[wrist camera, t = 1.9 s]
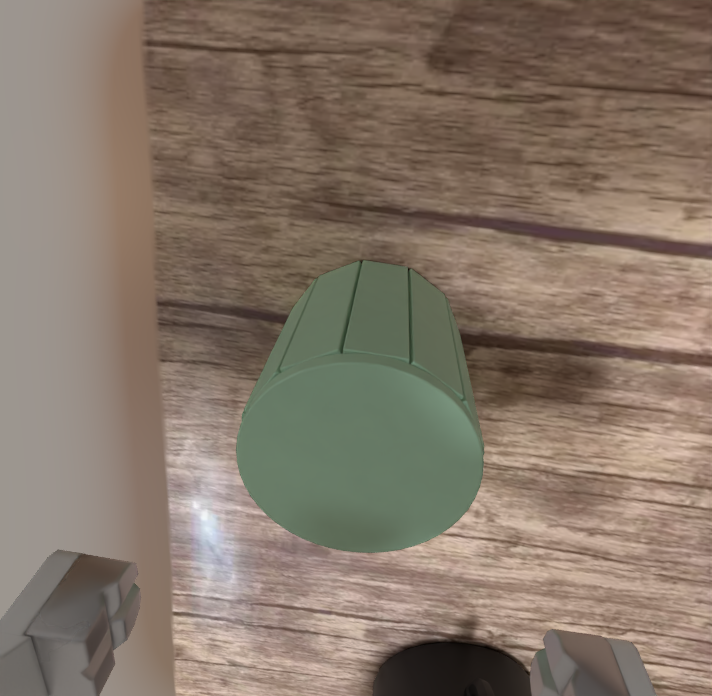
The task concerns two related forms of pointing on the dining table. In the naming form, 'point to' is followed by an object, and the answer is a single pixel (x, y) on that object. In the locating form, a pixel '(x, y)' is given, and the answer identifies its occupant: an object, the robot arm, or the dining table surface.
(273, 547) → the dining table surface
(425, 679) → the mug
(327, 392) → the cup
